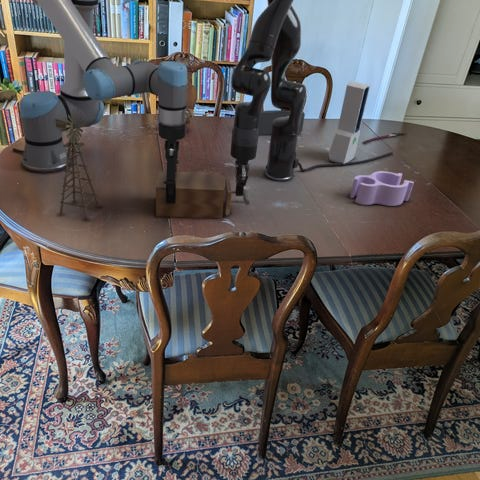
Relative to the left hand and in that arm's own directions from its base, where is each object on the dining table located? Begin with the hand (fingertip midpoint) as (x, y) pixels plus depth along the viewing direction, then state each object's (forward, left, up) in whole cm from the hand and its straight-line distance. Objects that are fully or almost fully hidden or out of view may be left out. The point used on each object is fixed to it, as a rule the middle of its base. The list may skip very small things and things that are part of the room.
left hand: (171, 193), depth 140 cm
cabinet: (+5, +1, -5) cm, 7 cm away
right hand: (+20, +4, 0) cm, 20 cm away
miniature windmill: (-25, -9, -5) cm, 27 cm away
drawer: (+11, +2, -4) cm, 12 cm away
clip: (+66, +27, -5) cm, 72 cm away
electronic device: (+55, +58, -5) cm, 80 cm away
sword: (+77, +90, -5) cm, 118 cm away
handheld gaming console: (+28, +78, -5) cm, 83 cm away
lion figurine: (-14, +66, -5) cm, 67 cm away
